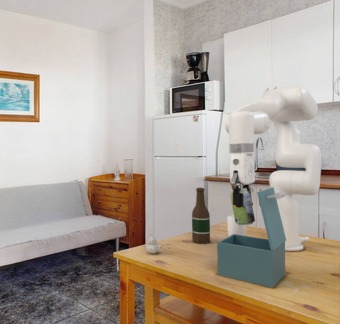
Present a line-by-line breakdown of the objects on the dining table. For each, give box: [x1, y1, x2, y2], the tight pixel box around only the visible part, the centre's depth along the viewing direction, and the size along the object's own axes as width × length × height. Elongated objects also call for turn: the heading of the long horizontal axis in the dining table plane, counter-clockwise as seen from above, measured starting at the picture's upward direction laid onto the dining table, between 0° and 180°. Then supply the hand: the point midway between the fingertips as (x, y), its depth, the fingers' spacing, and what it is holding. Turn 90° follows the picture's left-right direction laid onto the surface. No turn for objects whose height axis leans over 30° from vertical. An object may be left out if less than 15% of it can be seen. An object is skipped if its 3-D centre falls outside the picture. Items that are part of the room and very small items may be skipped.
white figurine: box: [145, 233, 163, 255], centre depth 136 cm, size 5×7×8 cm
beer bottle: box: [191, 187, 211, 245], centre depth 150 cm, size 8×8×24 cm
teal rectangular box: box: [216, 234, 286, 289], centre depth 110 cm, size 17×14×11 cm
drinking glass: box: [226, 214, 247, 237], centre depth 130 cm, size 7×7×15 cm
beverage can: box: [229, 188, 256, 226], centre depth 112 cm, size 6×7×12 cm
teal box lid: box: [256, 187, 286, 250], centre depth 104 cm, size 17×14×5 cm
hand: (242, 203), depth 112 cm, fingers closed on beverage can, 6 cm apart
